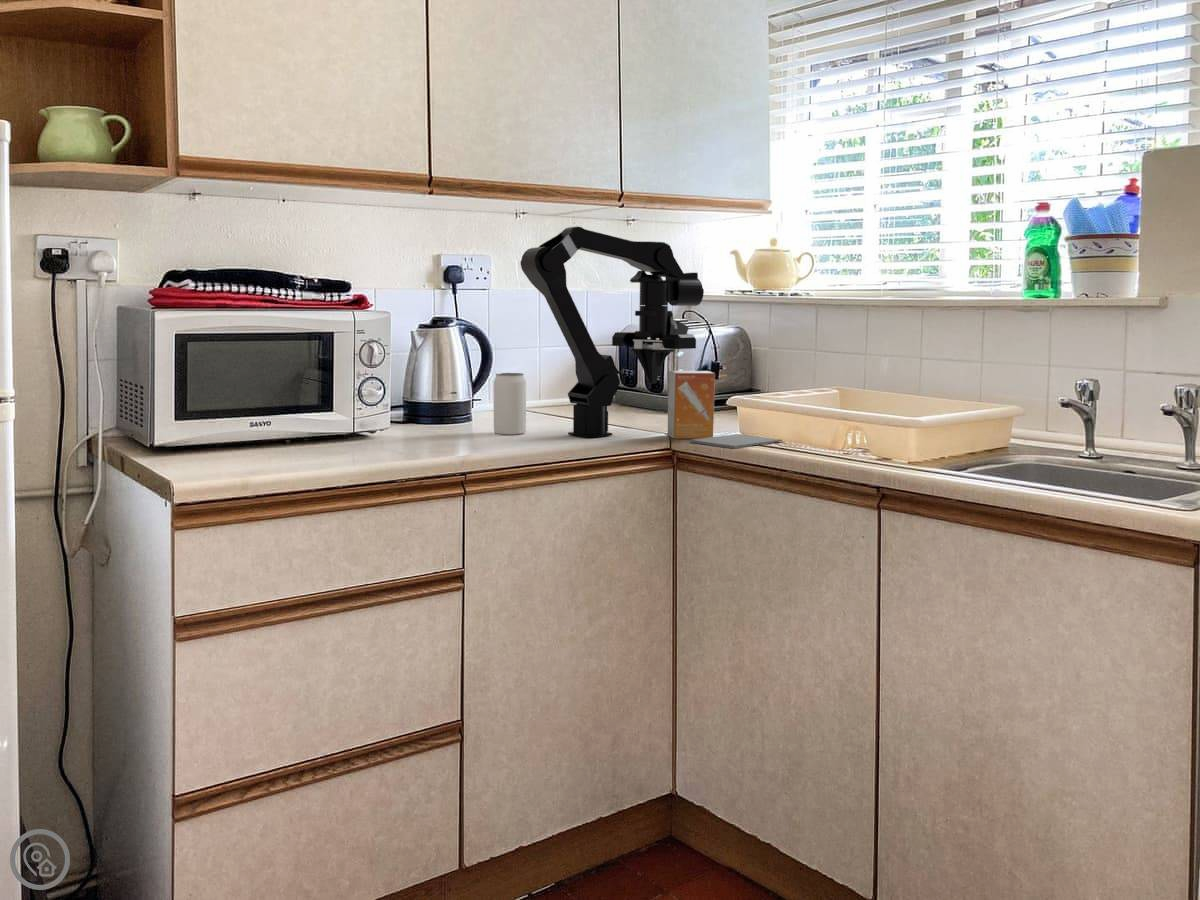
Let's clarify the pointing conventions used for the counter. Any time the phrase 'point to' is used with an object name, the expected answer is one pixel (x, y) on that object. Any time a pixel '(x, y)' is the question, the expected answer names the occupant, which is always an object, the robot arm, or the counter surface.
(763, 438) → the mat
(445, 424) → the counter surface
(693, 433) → the small box
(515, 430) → the can
